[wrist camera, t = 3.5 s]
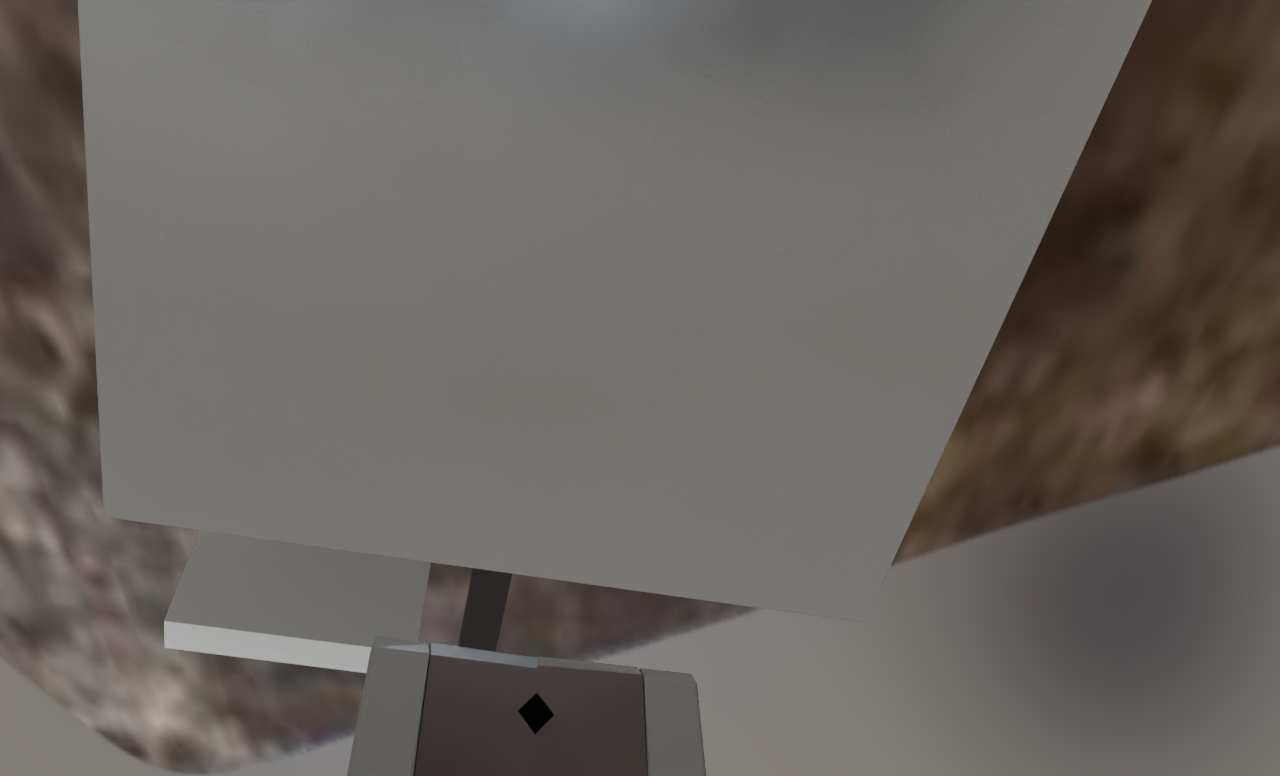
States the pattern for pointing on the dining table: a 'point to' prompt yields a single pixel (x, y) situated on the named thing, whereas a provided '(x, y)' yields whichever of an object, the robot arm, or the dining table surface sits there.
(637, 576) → the pan
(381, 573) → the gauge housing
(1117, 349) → the dining table surface
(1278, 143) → the dining table surface
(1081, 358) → the dining table surface
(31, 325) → the dining table surface
